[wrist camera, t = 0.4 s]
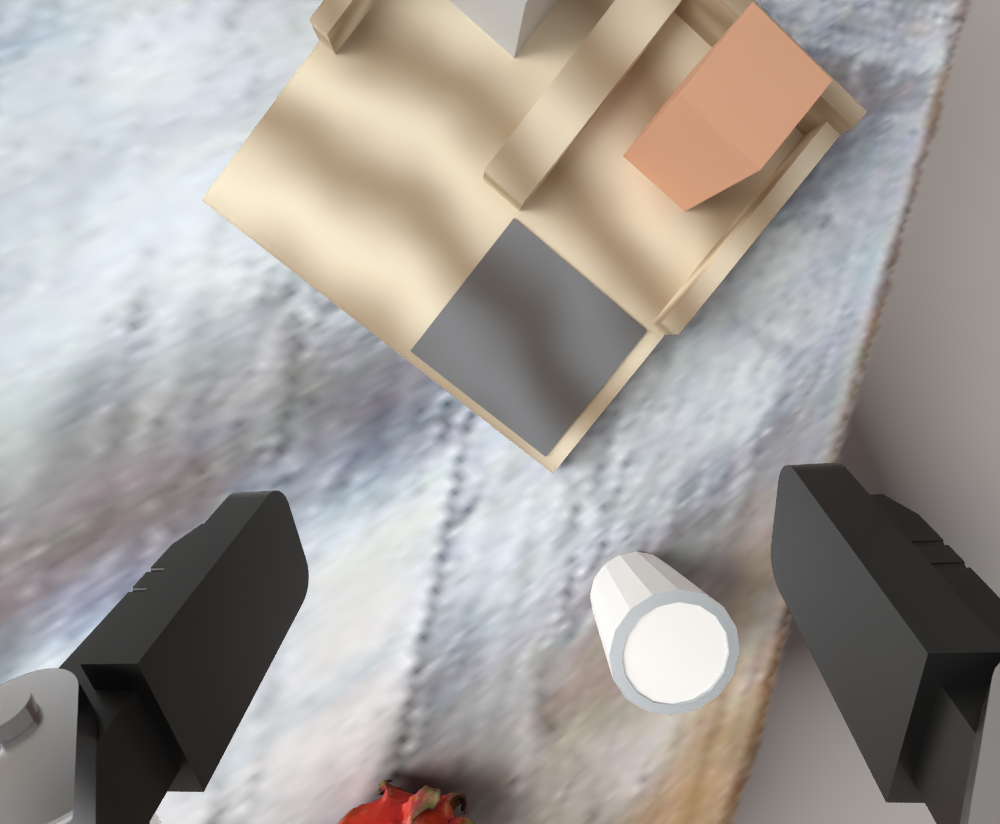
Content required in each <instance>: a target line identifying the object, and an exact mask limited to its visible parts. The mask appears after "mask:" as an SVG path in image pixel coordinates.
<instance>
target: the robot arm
mask: <svg viewBox="0 0 1000 824" xmlns="http://www.w3.org/2000/svg"><path fill="white" fill-rule="evenodd" d="M771 561H772V568H773V573H774V577H775V581H776V584H777V586H778V589H779V591H780V593H781V595H782V597H783V599H784V601H785V603H786V605H787V607H788V609H789V611H790V613H791V615H792V617H793V619H794V621H795V623H796V625H797V627H798V629H799V630H800V632H801V634H802V636H803V638H804V640H805V642H806V644H807V646H808V648H809V650H810V652H811V654H812V656H813V658H814V660H815V662H816V664H817V666H818V668H819V670H820V672H821V674H822V676H823V678H824V680H825V682H826V684H827V686H828V688H829V690H830V692H831V694H832V696H833V698H834V700H835V702H836V704H837V706H838V708H839V710H840V712H841V713H842V715H843V718H844V720H845V721H846V724H847V725H848V727H849V729H850V731H851V733H852V735H853V737H854V739H855V741H856V743H857V745H858V747H859V749H860V751H861V753H862V755H863V757H864V759H865V761H866V763H867V765H868V767H869V769H870V771H871V773H872V775H873V777H874V779H875V781H876V783H877V785H878V787H879V789H880V791H881V793H882V795H883V797H884V799H885V801H886V802H901V803H903V802H904V803H925V804H926V806H927V807H928V809H929V811H930V812H931V814H932V816H933V818H934V820H935V822H936V823H937V824H1000V598H999V597H998V596H997V595H996V594H995V593H994V592H993V591H992V590H991V589H990V588H989V587H988V585H986V583H985V582H984V581H983V580H982V579H981V578H980V577H979V576H978V575H977V574H976V573H975V572H974V571H973V570H972V569H971V568H966V567H965V564H964V561H963V560H962V559H961V558H960V557H959V556H958V555H957V554H956V553H955V552H954V550H953V549H952V548H951V547H950V546H949V545H944V543H943V539H942V538H941V537H940V536H939V535H938V534H937V533H936V532H935V531H934V530H933V529H932V528H931V527H930V526H929V525H928V524H927V523H926V522H925V521H924V520H923V519H922V518H921V517H920V515H918V514H916V513H915V512H913V511H911V510H910V509H908V508H906V507H904V506H903V505H901V504H899V503H897V502H896V501H894V500H892V499H890V498H889V497H887V496H885V495H883V494H876V495H869V493H868V492H867V491H866V490H865V489H864V488H863V487H862V486H861V484H860V483H859V482H858V481H857V480H856V479H855V478H854V477H853V476H852V474H851V473H850V472H849V471H848V470H847V469H846V468H845V467H844V466H843V465H842V464H840V463H823V464H803V465H787V466H784V467H783V468H782V470H781V472H780V476H779V481H778V490H777V499H776V508H775V517H774V526H773V535H772V544H771ZM308 579H309V574H308V565H307V561H306V558H305V555H304V551H303V548H302V545H301V542H300V539H299V535H298V532H297V529H296V526H295V523H294V519H293V516H292V513H291V510H290V507H289V503H288V501H287V499H286V497H285V496H284V494H283V493H281V492H280V491H259V492H240V493H233V494H231V495H229V496H228V497H227V498H226V499H225V501H224V502H223V503H222V504H221V505H220V506H219V507H218V509H217V510H216V511H215V512H214V513H213V514H212V515H211V516H210V518H209V519H208V520H207V521H206V522H205V523H204V524H201V525H200V526H198V527H197V528H195V529H194V530H192V531H191V532H189V533H188V534H187V535H185V536H184V537H182V538H181V539H179V540H178V541H176V542H175V543H173V544H172V545H171V546H170V547H169V548H168V549H167V551H166V552H165V553H164V554H163V555H162V556H161V557H160V558H159V559H158V560H157V561H156V563H155V564H154V565H153V566H152V567H151V572H146V573H145V575H144V576H143V577H142V578H141V579H140V580H139V581H138V582H137V583H136V584H135V585H134V587H133V592H128V593H127V594H126V595H125V596H124V597H123V599H122V600H121V601H120V602H119V603H118V604H117V605H116V606H115V607H114V608H113V609H112V611H111V612H110V613H109V614H108V615H107V616H106V617H105V618H104V619H103V620H102V621H101V623H100V624H99V625H98V626H97V627H96V628H95V629H94V630H93V631H92V632H91V633H90V635H89V636H88V637H87V638H86V639H85V640H84V641H83V642H82V643H81V644H80V645H79V647H78V648H77V649H76V650H75V651H74V652H73V653H72V654H71V655H70V656H69V657H68V659H67V660H66V661H65V662H64V663H63V664H62V665H61V666H60V667H59V668H52V669H43V670H37V671H34V672H30V673H27V674H24V675H21V676H19V677H16V678H13V679H11V680H9V681H7V682H5V683H3V684H1V685H0V824H161V822H160V820H159V818H158V816H157V814H156V813H155V812H156V810H157V808H158V806H159V805H160V803H161V801H162V799H163V798H164V796H165V794H166V793H167V791H180V792H204V790H205V788H206V787H207V785H208V783H209V781H210V779H211V777H212V775H213V773H214V771H215V769H216V767H217V766H218V764H219V762H220V760H221V758H222V756H223V754H224V752H225V750H226V748H227V746H228V745H229V743H230V741H231V739H232V737H233V735H234V733H235V731H236V729H237V727H238V726H239V724H240V722H241V720H242V718H243V716H244V714H245V712H246V710H247V708H248V706H249V705H250V703H251V701H252V699H253V697H254V695H255V693H256V691H257V689H258V687H259V685H260V684H261V682H262V680H263V678H264V676H265V674H266V672H267V670H268V668H269V666H270V664H271V663H272V661H273V659H274V657H275V655H276V653H277V651H278V649H279V647H280V645H281V644H282V642H283V640H284V638H285V636H286V634H287V632H288V630H289V628H290V626H291V624H292V623H293V621H294V619H295V617H296V615H297V613H298V611H299V609H300V607H301V605H302V603H303V601H304V599H305V596H306V593H307V588H308Z"/></svg>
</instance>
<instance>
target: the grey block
mask: <svg viewBox="0 0 1000 824" xmlns="http://www.w3.org/2000/svg"><path fill="white" fill-rule="evenodd" d="M449 1H451V2H452V3H453V4H454V5H455V6H456V7H457V8H458V9H459V10H461V11H462V12H463V13H464V14H465V15H466V16H467V17H468V18H470V19H471V20H472V21H473V22H474V23H475V24H476V25H477V26H478V27H480V28H481V29H482V30H483V31H484V32H485V33H486V34H487V35H489V36H490V37H491V38H492V39H493V40H494V41H495V42H496V43H497V44H499V45H500V46H501V47H502V48H503V49H504V50H505V51H506V52H508V53H509V54H510V55H511V56H512V57H513V58H515V56H516V55H517V54H518V53H519V51H520V50H521V49H522V47H523V46H524V45H525V43H526V42H527V41H528V39H529V38H530V37H531V36H532V34H533V33H534V32H535V30H536V29H537V28H538V26H539V25H540V24H541V22H542V21H543V20H544V19H545V17H546V16H547V15H548V13H549V12H550V11H551V9H552V8H553V7H554V6H555V4H556V3H557V2H558V0H449Z"/></svg>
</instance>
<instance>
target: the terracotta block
mask: <svg viewBox="0 0 1000 824" xmlns="http://www.w3.org/2000/svg"><path fill="white" fill-rule="evenodd" d="M831 82H832V79H831V78H830V77H829V76H828V75H827V74H826V73H825V72H824V71H823V70H822V69H821V68H820V67H819V66H818V65H816V64H815V63H814V62H813V61H812V60H811V59H810V58H809V57H808V56H807V55H806V54H805V53H804V52H803V51H802V50H801V49H800V48H799V47H798V46H797V45H796V44H795V43H794V42H793V41H792V40H791V39H790V38H789V37H788V36H787V35H786V34H785V33H784V32H783V31H782V30H781V29H780V28H779V27H778V26H777V25H776V24H775V23H774V22H773V21H772V20H771V19H770V18H769V17H768V16H767V15H766V14H765V13H764V12H763V11H762V10H761V9H760V8H759V7H758V6H757V5H756V4H754V3H753V2H752V3H751V4H750V5H749V6H748V7H747V9H746V10H745V11H744V12H743V13H742V14H741V15H740V17H739V18H738V19H737V20H736V21H735V22H734V23H733V24H732V26H731V27H730V28H729V29H728V30H727V31H726V32H725V34H724V35H723V36H722V37H721V38H720V39H719V40H718V41H717V43H716V44H715V45H714V46H713V47H712V48H711V49H710V50H709V52H708V53H707V54H706V55H705V56H704V57H703V58H702V60H701V61H700V62H699V63H698V64H697V65H696V66H695V67H694V69H693V70H692V71H691V72H690V73H689V74H688V75H687V77H686V78H685V79H684V80H683V81H682V82H681V83H680V84H679V86H678V87H677V88H676V89H675V90H674V92H673V93H672V94H671V95H670V97H669V98H668V99H667V101H666V102H665V103H664V104H663V106H662V107H661V108H660V109H659V111H658V112H657V113H656V115H655V116H654V117H653V118H652V120H651V121H650V122H649V123H648V125H647V126H646V127H645V129H644V130H643V131H642V132H641V134H640V135H639V136H638V137H637V139H636V140H635V141H634V143H633V144H632V145H631V146H630V148H629V149H628V150H627V151H626V153H625V154H624V155H623V157H625V158H626V159H627V160H628V161H629V162H630V163H631V164H632V165H634V166H635V167H636V168H637V169H638V170H639V171H640V172H641V173H642V174H644V175H645V176H646V177H647V178H648V179H649V180H650V181H651V182H653V183H654V184H655V185H656V186H657V187H658V188H659V189H660V190H661V191H663V192H664V193H665V194H666V195H667V196H668V197H669V198H670V199H672V200H673V201H674V202H675V203H676V204H677V205H678V206H679V207H680V208H682V209H683V210H684V211H686V210H688V209H690V208H692V207H694V206H696V205H697V204H699V203H701V202H703V201H705V200H706V199H708V198H710V197H712V196H714V195H716V194H717V193H719V192H721V191H723V190H725V189H726V188H728V187H730V186H732V185H734V184H736V183H737V182H739V181H741V180H743V179H745V178H746V177H748V176H750V175H752V174H754V173H756V172H757V171H759V170H761V169H762V167H763V166H764V165H765V164H766V163H767V161H768V160H769V159H770V158H771V156H772V155H773V154H774V153H775V151H776V150H777V149H778V148H779V146H780V145H781V144H782V143H783V141H784V140H785V139H786V138H787V136H788V135H789V134H790V133H791V131H792V130H793V129H794V128H795V126H796V125H797V124H798V123H799V121H800V120H801V119H802V118H803V116H804V115H805V114H806V113H807V112H808V110H809V109H810V108H811V107H812V105H813V104H814V103H815V102H816V100H817V99H818V98H819V97H820V95H821V94H822V93H823V92H824V90H825V89H826V88H827V87H828V85H829V84H830V83H831Z"/></svg>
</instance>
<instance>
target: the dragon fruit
mask: <svg viewBox="0 0 1000 824" xmlns="http://www.w3.org/2000/svg"><path fill="white" fill-rule="evenodd" d="M388 782H393V781H392V780H391V779H389V780H384V781H382V782H381V783H380V785H379V786H380V788H379V790H378V795H383V796H382V797H381V798H380V799H379V800H376V801H373V802H371V803H368V804H362V805H360V806H358V807H356V808H353V809H352V810H350V811H349V812H348V813H347V814H346V815H345V816H344V817H343V818H342V819H341V820H340V822H339V823H338V824H475V823H474V822H473V821H472V820H471V819H469V818H466V817H457V818H455V817H454V813H453V811H454V809H455V808H456V807H457V806H458V805H459V804H461V803H462V806H461V811H464V814H465V813H466V812H467V808H468V806H467V804H468V802H467V800H466V796H465V794H461V793H449V794H448V795H443V796H442V792H441V790H440V789H436V788H430V787H429V786H427V785H425V786H424V787H423V788H422V789H420V790H419V791H418V792H417V794H412V793H407V792H404V791H403V790H402V789H401V788H400V787H395V786H392V785H391V784H389V783H388Z"/></svg>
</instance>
